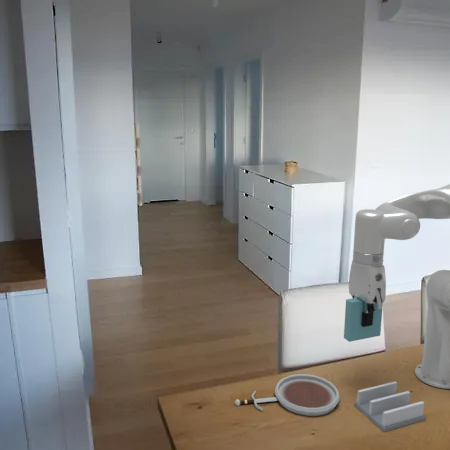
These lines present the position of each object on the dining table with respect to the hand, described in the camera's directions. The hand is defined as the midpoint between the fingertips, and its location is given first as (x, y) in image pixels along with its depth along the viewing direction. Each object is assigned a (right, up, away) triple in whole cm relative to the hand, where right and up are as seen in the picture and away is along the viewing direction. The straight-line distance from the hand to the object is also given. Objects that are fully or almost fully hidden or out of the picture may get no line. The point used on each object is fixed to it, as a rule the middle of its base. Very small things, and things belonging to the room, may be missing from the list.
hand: (363, 322), depth 127 cm
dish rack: (+4, -21, -7) cm, 23 cm away
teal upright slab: (0, -4, +1) cm, 4 cm away
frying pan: (-21, -20, -2) cm, 29 cm away
